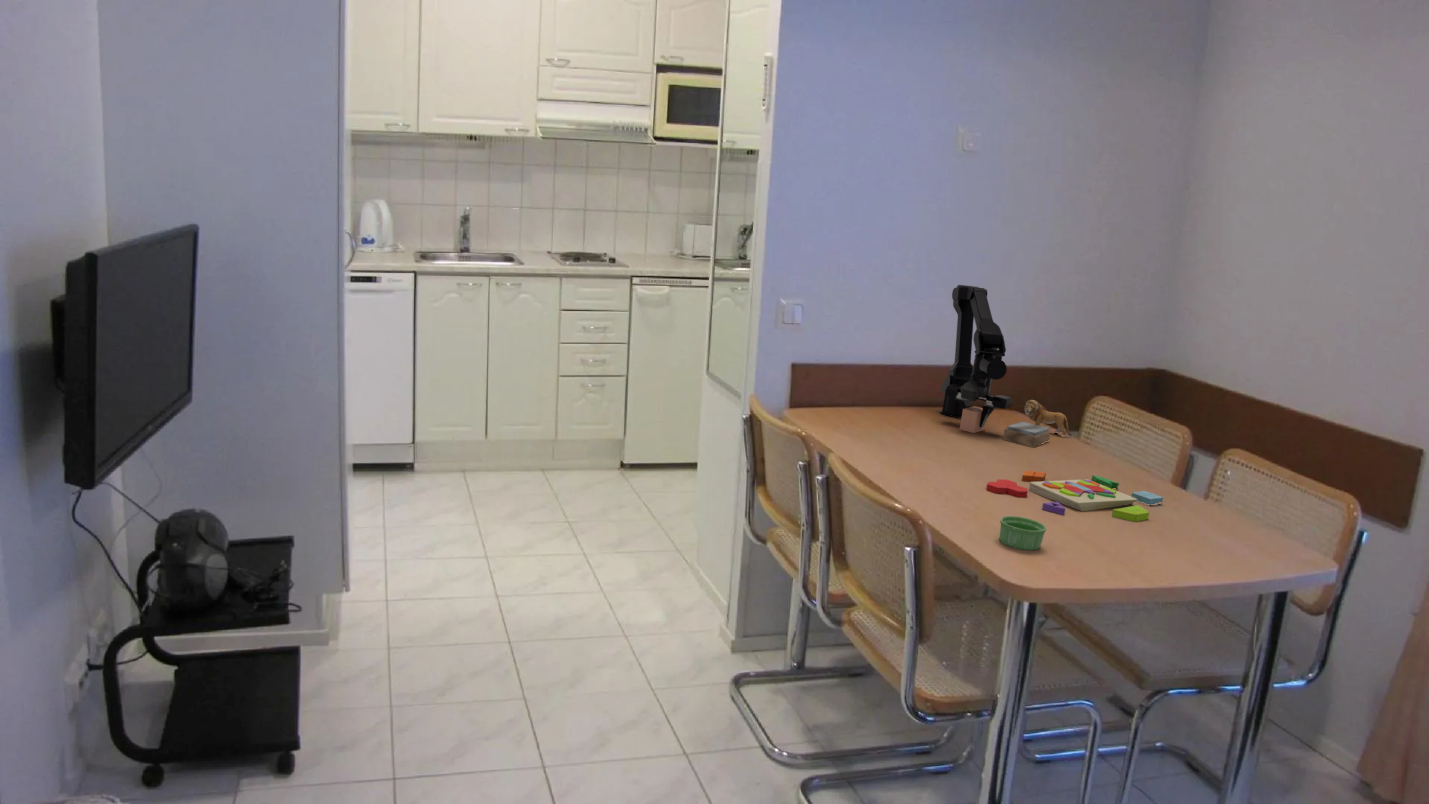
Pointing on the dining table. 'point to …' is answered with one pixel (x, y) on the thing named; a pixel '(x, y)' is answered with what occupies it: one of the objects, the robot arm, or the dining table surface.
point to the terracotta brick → (972, 419)
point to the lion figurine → (1045, 416)
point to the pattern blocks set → (1079, 495)
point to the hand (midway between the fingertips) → (973, 425)
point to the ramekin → (1021, 532)
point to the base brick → (1026, 434)
